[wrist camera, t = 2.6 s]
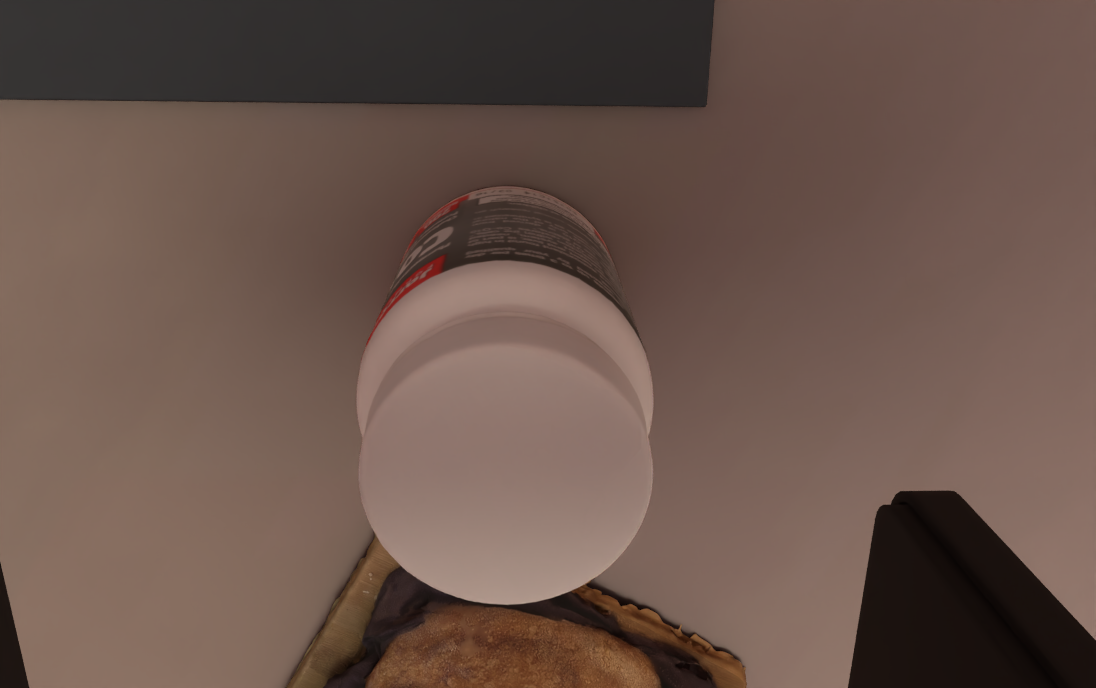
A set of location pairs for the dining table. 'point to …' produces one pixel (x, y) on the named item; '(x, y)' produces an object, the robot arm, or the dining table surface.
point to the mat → (359, 51)
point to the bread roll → (498, 641)
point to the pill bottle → (505, 403)
